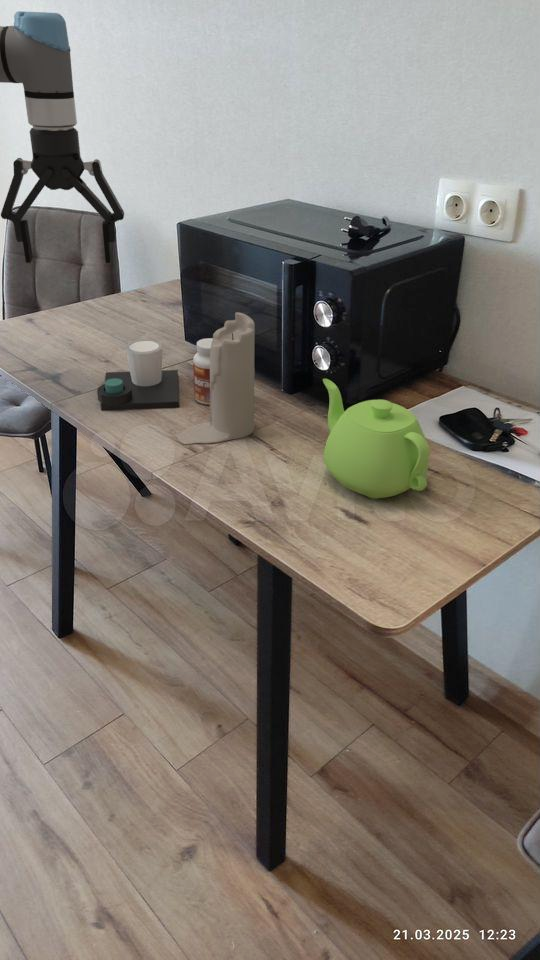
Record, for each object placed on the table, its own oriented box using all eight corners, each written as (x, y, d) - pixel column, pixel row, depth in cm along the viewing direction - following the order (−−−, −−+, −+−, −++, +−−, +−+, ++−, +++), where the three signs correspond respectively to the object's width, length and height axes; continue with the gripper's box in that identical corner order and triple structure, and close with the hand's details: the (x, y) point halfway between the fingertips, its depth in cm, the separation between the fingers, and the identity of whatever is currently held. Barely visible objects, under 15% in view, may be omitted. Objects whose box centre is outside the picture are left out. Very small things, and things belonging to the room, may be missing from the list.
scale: (97, 412, 126) (95, 397, 125) (103, 377, 138) (102, 363, 137) (179, 408, 128) (178, 393, 126) (178, 375, 140) (177, 361, 138)
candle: (170, 430, 121) (162, 319, 110) (243, 416, 126) (243, 307, 115) (184, 450, 116) (177, 334, 105) (260, 434, 121) (262, 322, 110)
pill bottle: (189, 403, 130) (187, 347, 124) (200, 389, 135) (198, 334, 129) (221, 408, 129) (220, 351, 122) (231, 393, 134) (231, 338, 127)
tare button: (105, 394, 126) (104, 386, 125) (106, 387, 129) (105, 378, 128) (123, 394, 127) (122, 385, 126) (124, 386, 129) (123, 377, 128)
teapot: (286, 461, 113) (288, 387, 106) (352, 433, 121) (358, 363, 114) (387, 526, 99) (398, 445, 92) (454, 489, 107) (469, 413, 100)
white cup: (134, 371, 138) (131, 337, 135) (168, 374, 138) (166, 340, 134) (123, 386, 133) (120, 351, 129) (159, 389, 132) (156, 354, 128)
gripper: (133, 126, 117) (141, 254, 129) (-23, 122, 114) (0, 254, 126) (131, 132, 111) (140, 266, 123) (-34, 128, 108) (-9, 266, 119)
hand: (69, 260), depth 124 cm, fingers open, 13 cm apart
